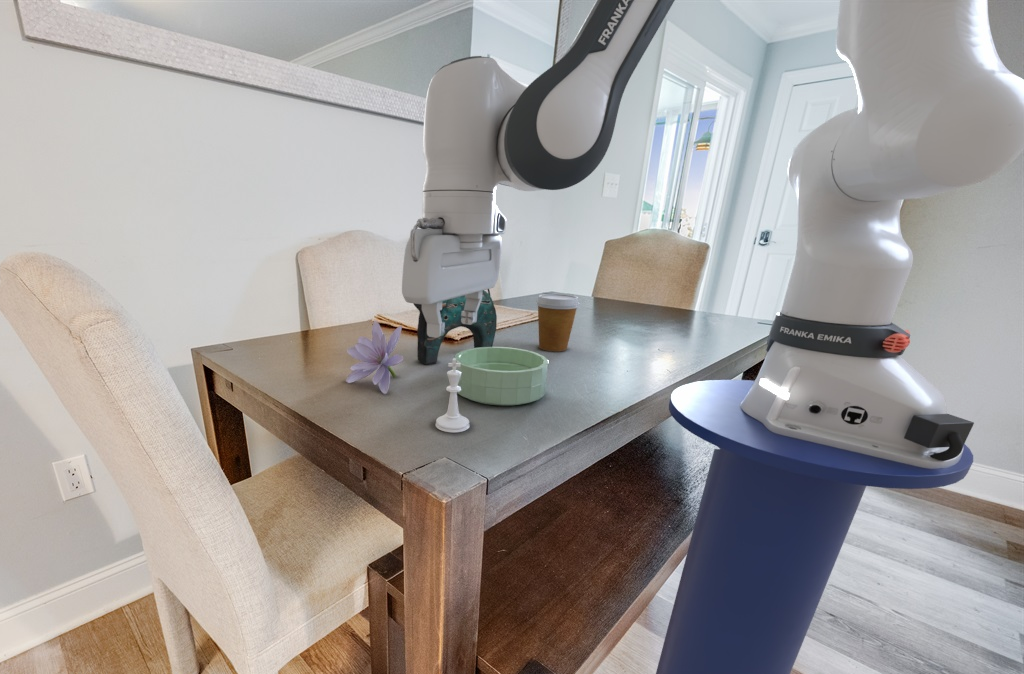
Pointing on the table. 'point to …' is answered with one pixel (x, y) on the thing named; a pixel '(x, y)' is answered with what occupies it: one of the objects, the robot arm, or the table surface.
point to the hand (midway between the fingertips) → (453, 329)
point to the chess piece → (453, 405)
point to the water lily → (375, 357)
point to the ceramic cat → (452, 318)
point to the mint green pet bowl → (502, 375)
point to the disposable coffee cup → (555, 320)
